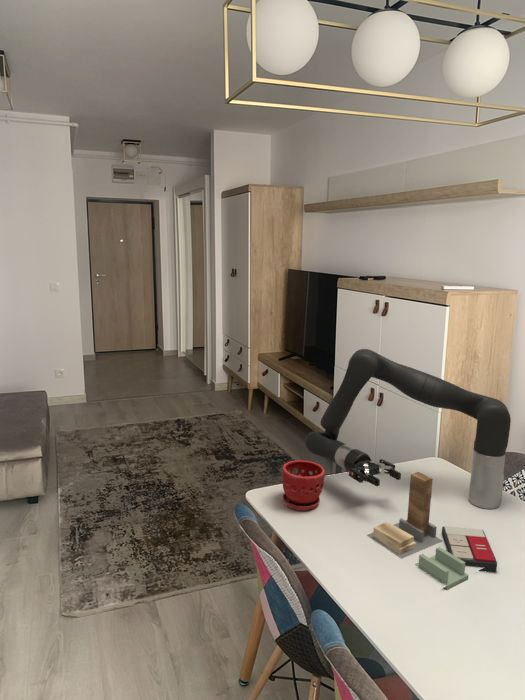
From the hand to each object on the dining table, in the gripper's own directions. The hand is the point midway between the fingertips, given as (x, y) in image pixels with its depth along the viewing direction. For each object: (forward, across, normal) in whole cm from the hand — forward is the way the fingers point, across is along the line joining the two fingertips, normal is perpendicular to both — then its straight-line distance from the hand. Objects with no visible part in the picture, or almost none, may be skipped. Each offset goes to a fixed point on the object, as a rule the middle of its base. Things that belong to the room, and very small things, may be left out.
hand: (389, 480), depth 158 cm
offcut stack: (+11, -9, +11) cm, 18 cm away
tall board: (+11, 0, +11) cm, 16 cm away
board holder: (+26, -8, +12) cm, 30 cm away
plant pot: (-20, -16, +13) cm, 29 cm away
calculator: (+24, +6, +13) cm, 28 cm away
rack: (+11, -5, +12) cm, 17 cm away
